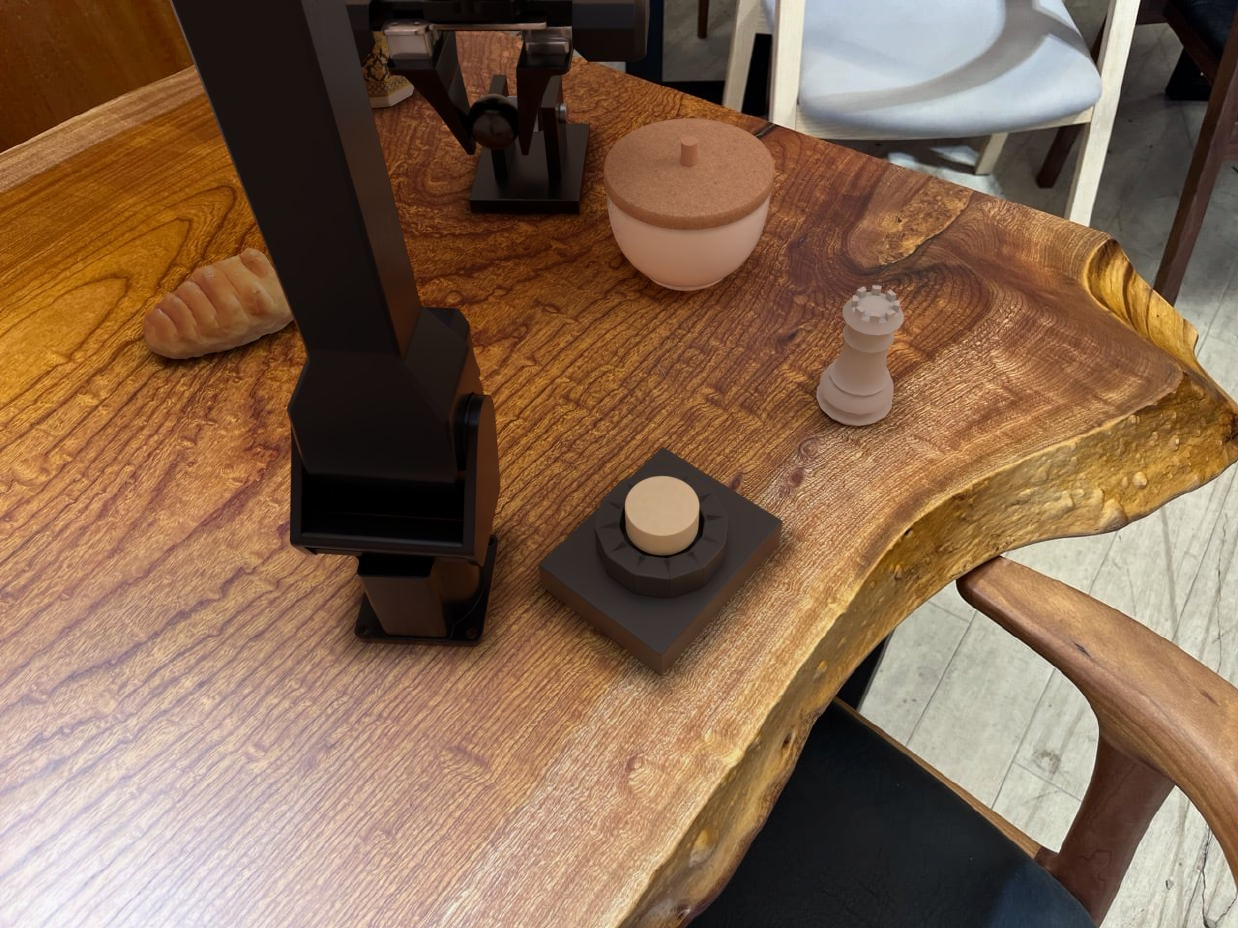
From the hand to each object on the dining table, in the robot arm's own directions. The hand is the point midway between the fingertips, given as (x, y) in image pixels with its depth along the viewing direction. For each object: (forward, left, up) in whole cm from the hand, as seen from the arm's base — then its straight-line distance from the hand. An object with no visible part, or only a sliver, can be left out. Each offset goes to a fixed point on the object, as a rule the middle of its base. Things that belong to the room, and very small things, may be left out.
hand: (499, 151), depth 60 cm
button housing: (-25, -11, -9) cm, 28 cm away
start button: (-25, -11, -5) cm, 27 cm away
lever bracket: (+10, 0, -9) cm, 14 cm away
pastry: (-7, +18, -9) cm, 21 cm away
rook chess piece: (-13, -22, -9) cm, 27 cm away
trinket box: (0, -12, -9) cm, 15 cm away
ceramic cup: (+23, +16, -9) cm, 30 cm away
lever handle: (+4, 0, -2) cm, 5 cm away
